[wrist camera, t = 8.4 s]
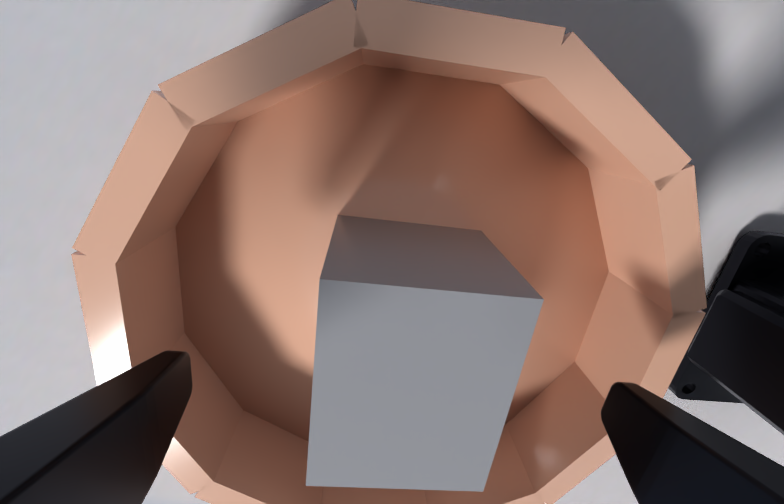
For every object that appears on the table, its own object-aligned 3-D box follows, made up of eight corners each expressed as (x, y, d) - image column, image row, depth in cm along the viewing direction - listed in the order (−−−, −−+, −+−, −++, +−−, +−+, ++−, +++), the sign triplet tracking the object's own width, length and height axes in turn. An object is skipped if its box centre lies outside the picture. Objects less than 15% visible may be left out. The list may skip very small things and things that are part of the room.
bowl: (679, 83, 10) (827, 73, 7) (540, 453, 15) (587, 547, 12) (142, -4, 9) (7, -70, 5) (184, 436, 14) (127, 538, 10)
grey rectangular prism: (480, 230, 10) (544, 299, 7) (447, 373, 12) (482, 491, 8) (337, 214, 10) (319, 279, 6) (325, 365, 12) (305, 485, 8)
